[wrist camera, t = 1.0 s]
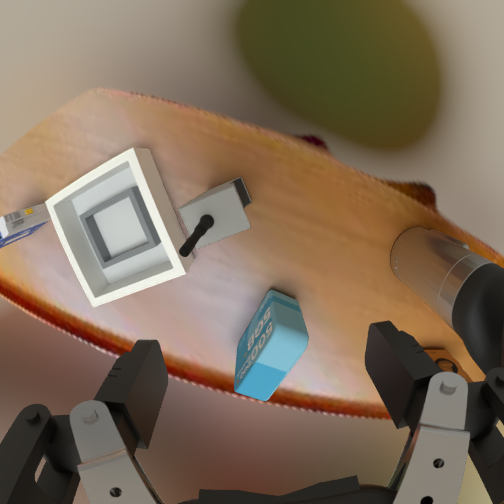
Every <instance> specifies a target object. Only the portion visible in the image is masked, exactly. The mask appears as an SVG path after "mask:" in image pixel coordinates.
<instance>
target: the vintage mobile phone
mask: <svg viewBox="0 0 504 504" xmlns="http://www.w3.org/2000/svg"><path fill="white" fill-rule="evenodd" d="M251 203H252V201H251V199H250V196H249V194H248V191H247V189H246V186H245V184H244V182H243V179H242V177H238V178H236V179H233V180H231V181H228V182H226V183H224V184H221V185H219V186H216V187H214V188H212V189H209V190H207V191H206V192H204V193H202V194H201V195H199V196H197V197H196V198H194V199H193V200H191V201H189V202H188V203H186V204H185V205H183V206H182V207H180V208H178V211H179V213H180V215H181V218H182V220H183V222H184V224H185V227H186V229H187V231H188V233H189V235H190V237H189V238H188V239H187V240H186V242H185V243H184V244H183V245H182V247H181V248H180V249H179V254H180V255H181V256H182V257H187V256H188V255H189V254H190V253H191V251H192V250H193V248H194V247H195V248H196V249H199V248H202V247H204V246H206V245H209V244H211V243H214V242H216V241H219V240H221V239H224V238H226V237H229V236H231V235H234V234H237V233H239V232H242V231H244V230H247V229H249V228H251V226H250V223H249V221H248V218H247V216H246V214H245V211H244V208H245V207H246V206H248V205H249V204H251Z"/></svg>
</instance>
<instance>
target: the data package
mask: <svg viewBox="0 0 504 504" xmlns="http://www.w3.org/2000/svg"><path fill="white" fill-rule="evenodd" d="M308 339H309V336H308V332H307V329H306V325H305V322H304V319H303V316H302V312H301V309H300V306H299V303H298V301H297V300H295V299H293V298H291V297H288V296H286V295H284V294H281V293H279V292H277V291H275V290H270V291H269V292H268V293H267V294H266V296H265V298H264V300H263V301H262V303H261V305H260V307H259V308H258V310H257V312H256V314H255V315H254V317H253V319H252V321H251V322H250V324H249V326H248V328H247V329H246V331H245V333H244V335H243V336H242V338H241V340H240V342H239V344H238V348H237V356H236V369H235V382H234V390H235V392H237V393H240V394H243V395H246V396H250V397H253V398H256V399H259V400H262V401H266V400H268V399H269V398H270V396H271V395H272V394H273V393H274V391H275V390H276V389H277V387H278V386H279V385H280V383H281V382H282V381H283V379H284V378H285V377H286V375H287V374H288V373H289V371H290V370H291V369H292V367H293V366H294V365H295V363H296V362H297V360H298V359H299V358H300V356H301V355H302V353H303V352H304V351H305V349H306V347H307V344H308Z"/></svg>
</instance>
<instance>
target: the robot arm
mask: <svg viewBox="0 0 504 504" xmlns="http://www.w3.org/2000/svg"><path fill="white" fill-rule="evenodd" d="M390 260H391V267H392V270H393V272H394V274H395V275H396V276H397V277H398V278H399V279H400V280H401V281H402V282H403V283H404V284H405V285H406V286H407V287H408V288H410V289H411V290H412V291H413V292H414V293H415V294H416V295H417V296H418V297H419V298H420V299H422V300H423V301H424V302H425V303H426V304H427V305H428V306H429V307H430V308H431V309H432V310H433V311H434V312H435V313H436V314H437V315H438V316H440V317H441V318H442V319H443V320H444V321H445V322H446V323H447V324H448V325H449V326H450V327H451V328H452V329H453V330H454V331H455V332H456V333H457V334H458V335H459V336H460V337H461V339H462V340H463V342H464V344H465V346H466V348H467V350H468V352H469V354H470V356H471V357H472V359H473V360H474V361H475V363H476V364H477V365H478V366H479V368H480V369H481V370H482V371H483V373H484V374H485V375H486V377H485V380H484V381H480V382H470V383H467V382H466V381H465V379H464V378H463V377H461V376H460V375H458V374H456V373H453V372H442V370H441V369H440V368H439V367H438V366H437V364H436V363H435V362H434V361H433V360H432V358H431V357H430V356H429V355H428V354H427V353H426V352H424V349H423V348H422V347H421V346H419V343H418V342H417V341H416V340H415V339H414V337H413V336H411V335H409V334H407V333H406V332H404V331H398V329H397V328H396V327H395V326H394V325H393V324H392V322H391V321H383V322H377V323H371V324H370V326H369V331H368V338H367V345H366V352H365V366H366V370H367V372H368V374H369V376H370V378H371V380H372V381H373V383H374V385H375V387H376V389H377V391H378V393H379V395H380V397H381V399H382V400H383V402H384V404H385V406H386V408H387V410H388V412H389V414H390V416H391V418H392V420H393V422H394V424H395V426H396V428H397V429H399V428H403V427H406V426H409V428H410V432H409V434H408V437H407V440H406V443H405V446H404V448H403V451H402V454H401V457H400V459H399V462H398V464H397V467H396V469H395V471H394V474H393V476H392V478H391V480H390V482H389V484H388V486H387V487H383V486H379V485H372V484H359V482H358V479H357V475H356V476H351V477H347V478H343V479H338V480H332V481H327V482H321V483H318V484H315V485H312V486H310V487H307V488H304V489H301V490H298V491H295V492H292V493H289V494H286V495H282V496H274V495H265V494H259V493H251V492H246V491H241V490H204V489H200V491H199V498H197V499H192V500H188V501H184V502H181V503H178V504H456V503H457V499H458V496H459V492H460V488H461V484H462V480H463V475H464V470H465V464H466V459H467V453H468V454H469V456H470V458H471V460H472V462H473V463H474V465H475V467H476V469H477V471H478V473H479V475H480V477H481V479H482V481H483V483H484V485H485V488H486V490H487V492H488V494H489V496H490V498H491V501H492V503H493V504H504V437H503V436H502V434H501V433H500V431H499V430H498V428H497V427H496V424H497V423H498V421H499V419H500V420H501V422H502V423H503V425H504V268H502V267H500V266H499V265H497V264H495V263H493V262H491V261H489V260H488V259H486V258H484V257H482V256H480V255H478V254H476V253H474V252H472V251H470V250H469V246H468V245H467V244H465V243H463V242H461V241H459V240H457V239H455V238H453V237H451V236H449V235H446V234H444V233H442V232H440V231H438V230H436V229H431V230H427V229H425V228H423V227H413V228H410V229H408V230H406V231H405V232H403V233H402V234H401V235H400V236H399V237H398V239H397V240H396V242H395V244H394V246H393V248H392V252H391V259H390ZM167 386H168V373H167V369H166V366H165V362H164V359H163V355H162V351H161V348H160V344H159V342H158V341H157V340H137V342H136V343H135V345H134V347H133V348H132V350H131V352H126V353H124V354H123V355H122V356H121V357H119V358H118V359H117V360H116V362H115V364H114V365H113V367H112V370H110V372H109V374H108V377H106V379H105V381H104V382H103V384H102V386H101V387H100V389H99V391H98V393H97V394H96V396H95V398H94V400H92V401H86V402H83V403H80V404H79V405H77V406H76V407H75V408H74V409H73V410H72V412H71V413H70V415H56V416H52V415H51V413H50V411H49V410H48V408H47V407H46V406H44V405H42V404H33V405H29V406H27V407H25V408H24V409H23V410H22V411H21V412H20V413H19V415H18V416H17V418H16V420H15V421H14V422H13V424H12V426H11V427H10V429H9V430H8V432H7V434H6V435H5V437H4V439H3V440H2V442H1V444H0V504H72V503H73V500H74V497H75V494H76V491H77V487H78V485H79V482H80V479H81V480H82V483H83V486H84V489H85V492H86V494H87V497H88V499H89V502H90V504H165V503H164V502H163V501H162V499H161V498H160V496H159V495H158V493H157V492H156V490H155V489H154V487H153V486H152V484H151V482H150V481H149V479H148V478H147V476H146V474H145V473H144V471H143V469H142V467H141V466H140V464H139V462H138V460H137V459H136V457H135V455H134V454H135V451H136V448H142V449H148V447H149V444H150V440H151V437H152V433H153V430H154V427H155V424H156V420H157V417H158V414H159V411H160V408H161V405H162V401H163V398H164V395H165V392H166V389H167ZM42 457H43V458H44V459H45V460H46V463H45V465H44V467H43V469H42V472H41V474H40V476H39V478H38V481H37V483H36V482H35V472H36V470H37V467H38V465H39V463H40V461H41V459H42Z"/></svg>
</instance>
